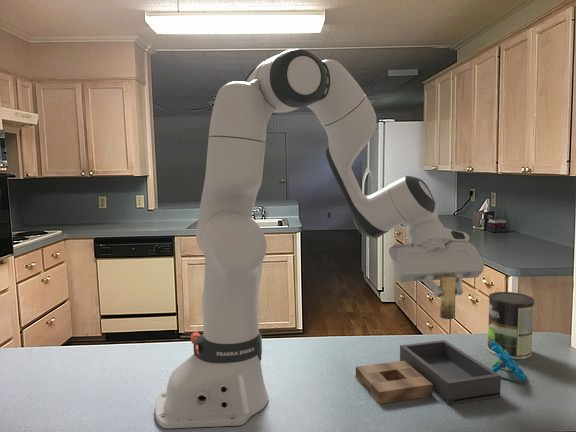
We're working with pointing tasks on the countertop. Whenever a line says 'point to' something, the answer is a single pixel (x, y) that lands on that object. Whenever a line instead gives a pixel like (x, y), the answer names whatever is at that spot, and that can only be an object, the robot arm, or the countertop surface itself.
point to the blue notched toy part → (506, 361)
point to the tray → (452, 372)
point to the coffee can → (511, 323)
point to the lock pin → (447, 296)
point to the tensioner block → (393, 382)
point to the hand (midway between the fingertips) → (449, 294)
